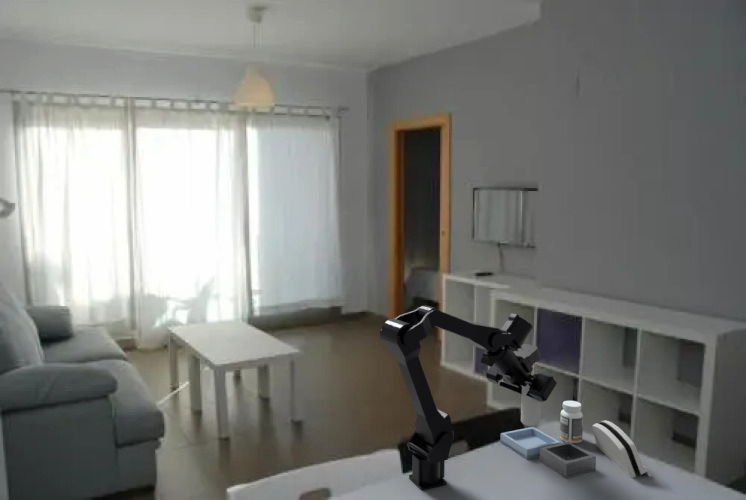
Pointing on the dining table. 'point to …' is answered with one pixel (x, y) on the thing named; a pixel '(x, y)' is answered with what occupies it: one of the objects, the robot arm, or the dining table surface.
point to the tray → (527, 441)
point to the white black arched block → (618, 448)
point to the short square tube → (575, 466)
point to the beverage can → (529, 409)
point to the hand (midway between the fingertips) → (534, 397)
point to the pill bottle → (571, 422)
